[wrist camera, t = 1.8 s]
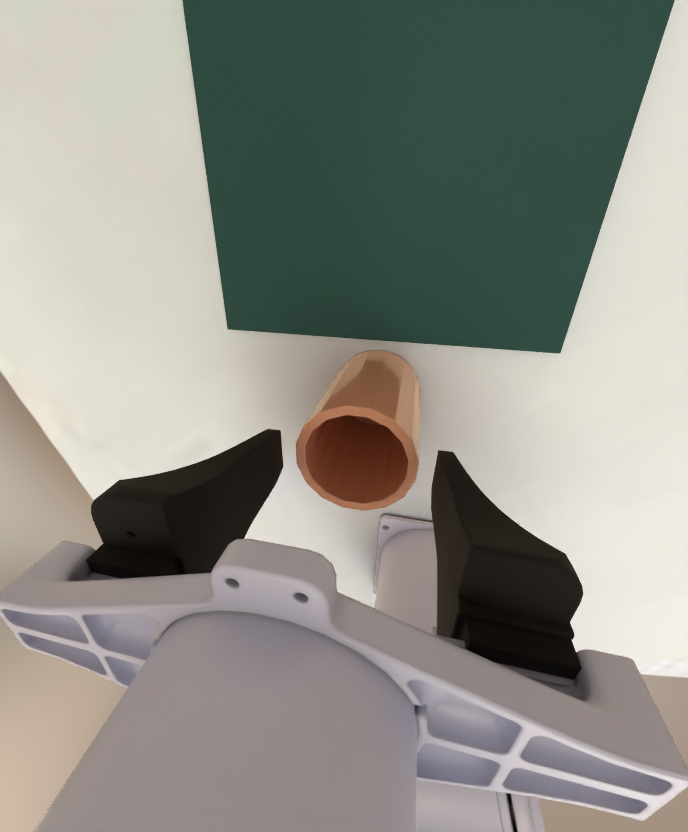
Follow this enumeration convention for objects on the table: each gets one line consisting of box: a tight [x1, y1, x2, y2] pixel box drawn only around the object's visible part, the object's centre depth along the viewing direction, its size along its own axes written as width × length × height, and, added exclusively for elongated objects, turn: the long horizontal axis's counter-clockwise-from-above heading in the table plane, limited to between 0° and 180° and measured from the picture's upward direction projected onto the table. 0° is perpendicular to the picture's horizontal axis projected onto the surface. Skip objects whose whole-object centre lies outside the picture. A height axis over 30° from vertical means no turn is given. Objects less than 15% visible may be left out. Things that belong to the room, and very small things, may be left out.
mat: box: [183, 0, 674, 353], centre depth 16 cm, size 20×20×1 cm
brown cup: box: [296, 350, 420, 510], centre depth 19 cm, size 6×6×8 cm
